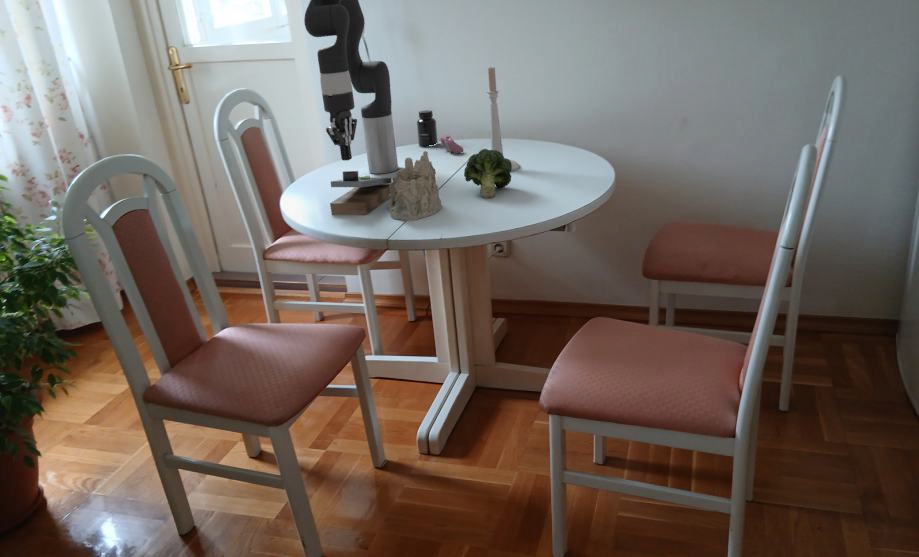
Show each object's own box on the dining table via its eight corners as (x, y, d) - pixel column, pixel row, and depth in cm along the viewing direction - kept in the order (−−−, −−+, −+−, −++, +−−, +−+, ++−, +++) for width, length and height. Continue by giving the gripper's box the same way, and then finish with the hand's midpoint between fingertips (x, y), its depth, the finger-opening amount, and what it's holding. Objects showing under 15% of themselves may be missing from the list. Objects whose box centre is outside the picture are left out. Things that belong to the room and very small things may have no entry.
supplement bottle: (421, 148, 260) (417, 114, 256) (417, 145, 266) (413, 111, 262) (440, 145, 262) (437, 111, 257) (435, 142, 268) (432, 108, 264)
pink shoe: (445, 154, 256) (435, 137, 253) (456, 146, 256) (446, 129, 253) (454, 159, 247) (443, 142, 244) (465, 151, 247) (454, 134, 244)
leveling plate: (362, 182, 208) (361, 168, 208) (391, 182, 205) (391, 168, 205) (331, 187, 192) (330, 171, 191) (362, 187, 189) (361, 171, 188)
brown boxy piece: (359, 192, 212) (357, 177, 210) (401, 193, 207) (399, 176, 206) (326, 214, 194) (323, 197, 192) (372, 215, 190) (369, 197, 188)
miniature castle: (408, 197, 202) (401, 144, 195) (454, 207, 192) (448, 151, 185) (367, 217, 191) (358, 161, 185) (414, 228, 181) (406, 170, 175)
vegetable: (454, 193, 195) (458, 156, 204) (489, 218, 201) (491, 181, 210) (486, 168, 187) (489, 131, 197) (521, 195, 193) (522, 158, 203)
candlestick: (503, 175, 216) (496, 69, 205) (468, 171, 223) (460, 69, 212) (527, 164, 225) (522, 62, 214) (493, 161, 233) (486, 63, 221)
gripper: (336, 87, 191) (345, 154, 197) (310, 95, 179) (321, 166, 185) (362, 86, 188) (371, 153, 195) (338, 94, 177) (348, 166, 183)
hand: (346, 159), depth 190 cm, fingers closed
